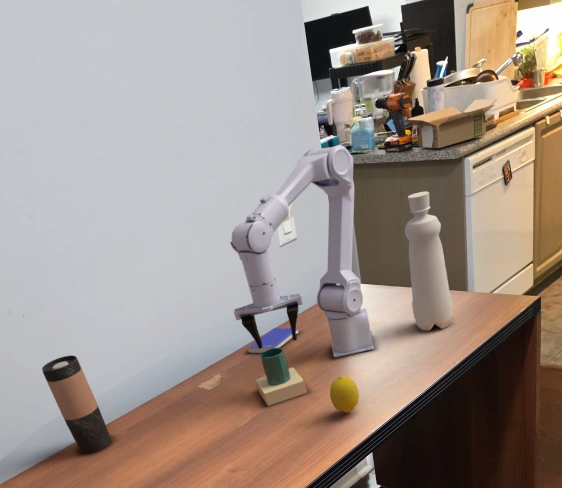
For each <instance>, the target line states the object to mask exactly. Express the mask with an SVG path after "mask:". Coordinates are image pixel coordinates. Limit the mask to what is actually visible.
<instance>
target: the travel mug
mask: <svg viewBox="0 0 562 488" xmlns="http://www.w3.org/2000/svg"><path fill="white" fill-rule="evenodd" d="M41 371H42V374H43V376H44V378H45V381H46V382H47V386H48V388H49V390H50V391H51V394H52V395H53V398H54V401H55V403H56V405H57V407H58V409H59V411H60V413H61V416H62V418H63V420H64V422H65V424H66V426H67V428H68V430H69V432H70V434H71V436H72V438H73V439H74V442H75V444H76V446H77V447H78V449H79V451H80V452H81V454H84V455H89V454H93V453H97V452H100V451H102V450H103V449H105V448H107V447H108V446H110V444H111V442H112V437H111V435H110V433H109V430H108V428H107V425H106V421H105V419H104V417H103V415H102V412H101V409H100V407H99V405H98V403H97V400H96V397H95V395H94V393H93V391H92V389H91V386H90V384H89V382H88V380H87V378H86V375H85V372H84V371H83V368H82V365H81V363H80V361H79V359H78V358H77V356H76V355H65V356H61V357H58V358H56V359H52V360H51V361H49V362H47V363H46V364H44V365H43V366H42V367H41Z"/></svg>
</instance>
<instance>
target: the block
mask: <svg viewBox="0 0 562 488" xmlns="http://www.w3.org/2000/svg"><path fill="white" fill-rule="evenodd" d="M289 372H290V376H291V378H290V380H289V381H287V382H286V383H283V384H280V385H269V384H268V382H267V379H266V376H262V377H260V378H257V379H255V383H256V386H257V390H258V392H259V394H260V396H261V398H262V399H263V400H264V401H263V402H264V403H265V404H266V405H267V407H270V406H273V405H275V404H278V403H281V402H284V401H287V400H290V399H293V398H296V397H299V396H302V395H305V394H307V393H308V391H307V388H306V384H305V380H304V379H303V378H302V377H301V375H300V373H298V371H296V369H295V368H294V367H290V368H289Z"/></svg>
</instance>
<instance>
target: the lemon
mask: <svg viewBox="0 0 562 488" xmlns="http://www.w3.org/2000/svg"><path fill="white" fill-rule="evenodd" d="M329 396H330V397H329V398H330V402H331V404H332V405H333V407H334V408H335V409H336V410H337V411H340V412H342V413H343V412H344V413H346V414H349V413H351V411H352V410H354V409H355V408H356V407H357V406H358V404H359V400H360V393H359V388H358V385H357V383H355V381H354V379H352V378H351V377H348V376H343V375H339V376H338V377H337V378H335V379H334V380H333V381H332V383H331V385H330V387H329Z"/></svg>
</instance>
